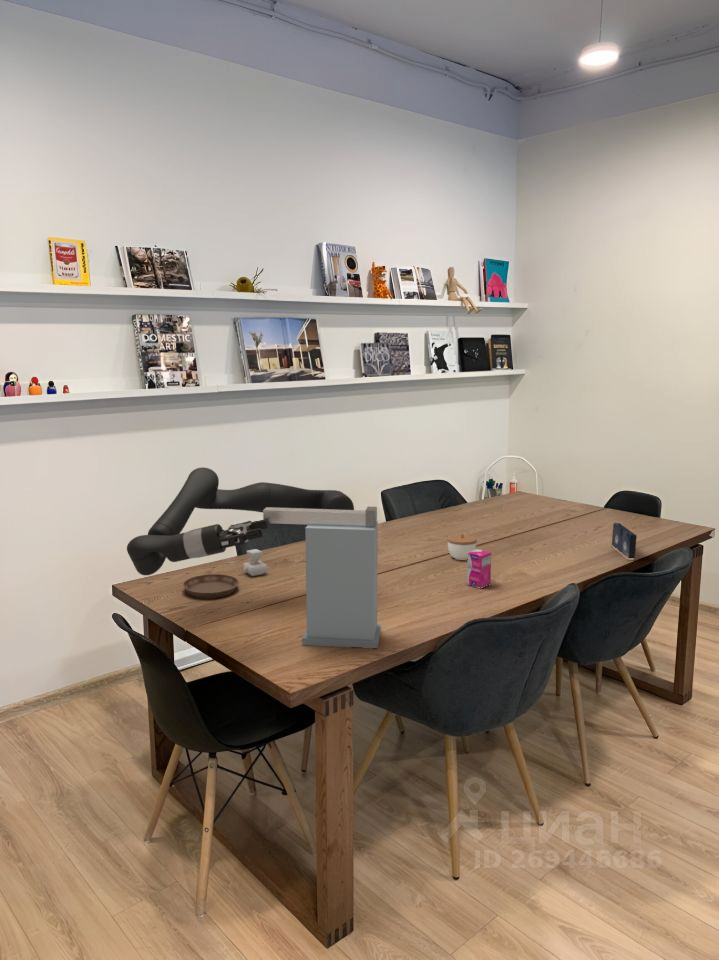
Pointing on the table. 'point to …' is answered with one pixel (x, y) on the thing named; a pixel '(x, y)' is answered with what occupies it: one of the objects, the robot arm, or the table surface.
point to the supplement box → (479, 568)
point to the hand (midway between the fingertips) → (264, 527)
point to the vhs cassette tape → (624, 540)
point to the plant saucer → (210, 585)
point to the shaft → (321, 516)
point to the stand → (341, 586)
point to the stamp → (255, 563)
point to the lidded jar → (461, 545)
